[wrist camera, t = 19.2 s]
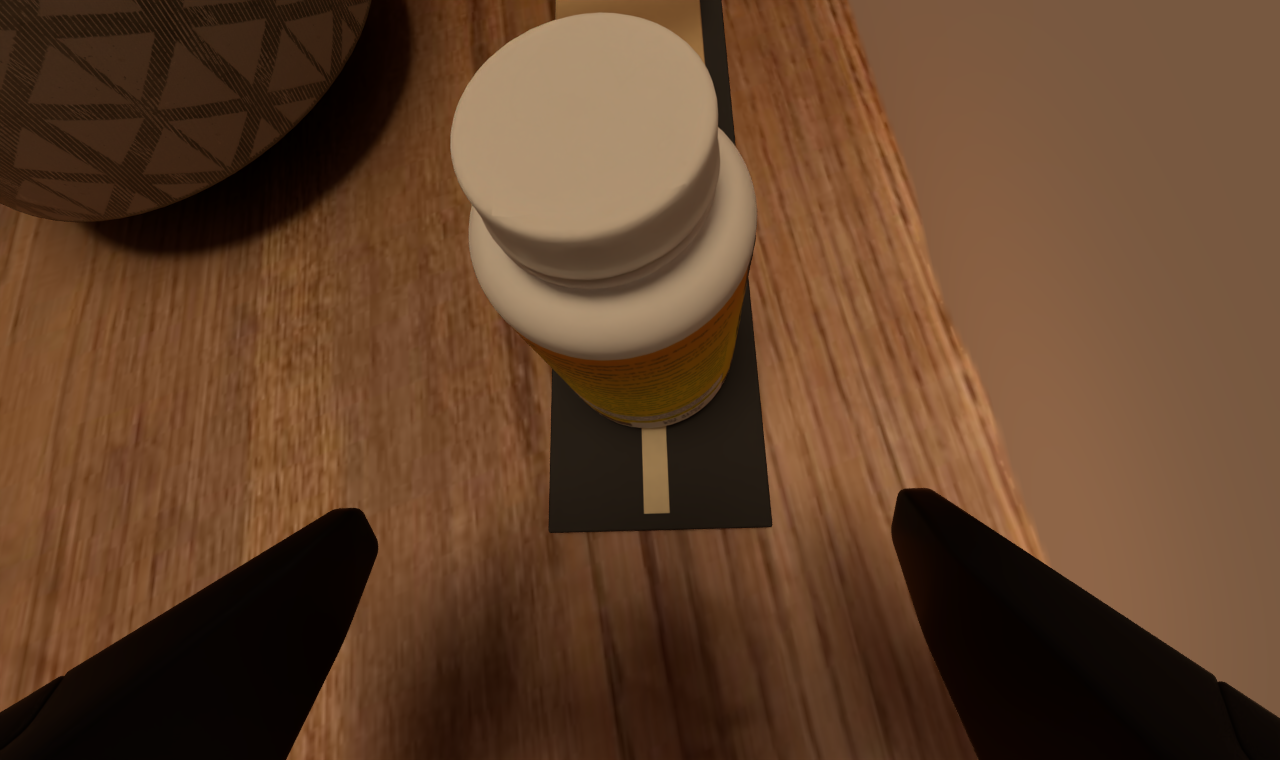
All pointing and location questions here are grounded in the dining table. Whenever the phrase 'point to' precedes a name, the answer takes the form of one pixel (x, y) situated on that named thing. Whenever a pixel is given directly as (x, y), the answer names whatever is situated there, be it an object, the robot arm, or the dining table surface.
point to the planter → (154, 95)
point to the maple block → (647, 15)
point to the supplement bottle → (609, 211)
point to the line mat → (668, 427)
